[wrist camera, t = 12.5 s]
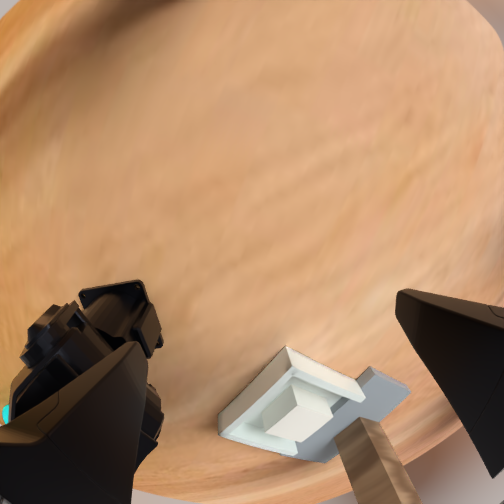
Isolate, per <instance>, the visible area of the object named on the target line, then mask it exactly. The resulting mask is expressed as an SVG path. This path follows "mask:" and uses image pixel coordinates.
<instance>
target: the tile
mask: <svg viewBox="0 0 504 504" xmlns="http://www.w3.org/2000/svg"><path fill="white" fill-rule="evenodd" d="M261 413H262V419H263V425H264V431H265V433H267V434H271V435H274V436H278V437H281V438H285V439H289V440H293V441H297V442H303V441H304V440H305V439H307V438H308V437H309V436H311V435H312V434H313V433H314V432H316V431H317V430H318V429H319V428H321V427H322V426H323V425H324V424H326V423H327V422H328V421H329V420H330V419H332V418H333V415H332V412H331V410H330V407H329V405H328V402H327V400H326V398H325V397H322V396H320V395H317V394H314V393H312V392H309V391H307V390H304V389H302V388H299V387H297V386H294V385H292V384H291V385H290V386H289V387H288V388H287V389H286V390H285V391H284V392H283V393H282V394H281V395H280V396H278V397H277V398H276V399H275V400H274V401H273V402H272V403H271V404H270V405H269V406H268V407H267V408H265V409H264V410H263V411H262V412H261Z"/></svg>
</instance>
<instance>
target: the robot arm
mask: <svg viewBox="0 0 504 504" xmlns="http://www.w3.org/2000/svg"><path fill="white" fill-rule="evenodd" d="M136 284H138V285H139V286H140V288H137V287H136ZM83 294H85V296H86V297H85V296H84V295H83ZM79 298H80V300H81V303H82V306H83V308H84V310H83V311H81V310H80V309H79V308H78V307H79V305H78V304H77V303H76V301H75V300H74V301H73V302H71V303H70V304H69V305H68V303H66V304H65V305H64V306H62V307H60V306H57V305H54V304H53V305H52V306H51V307H50V308H49V309H48V310H47V311H46V312H45V313H44V314H43V315H42V316H41V317H40V318H38V319H37V320H36V321H35V322H34V323H33V324H32V326H31V327H30V328H29V329H28V341H27V343H26V344H25V348H24V350H23V352H22V353H21V355H20V358H21V360H22V361H23V362H24V363H25V364H26V365H25V367H24V368H23V369H22V370H21V371H20V372H19V374H18V375H17V376H16V377H15V378H14V380H13V381H12V383H11V390H10V400H9V414H8V423H7V424H5V425H3V426H1V427H0V504H131V497H132V488H133V479H134V474H135V472H136V470H137V468H138V467H139V465H140V464H141V462H142V461H143V460H144V459H145V457H146V456H147V455H148V454H149V453H150V452H151V451H152V450H153V449H154V448H156V447H157V445H158V442H157V441H156V440H157V438H158V436H159V434H160V431H161V427H162V423H163V420H164V413H163V412H162V411H161V399H160V397H159V395H158V394H157V392H156V389H155V388H154V387H153V386H152V385H151V384H148V383H147V374H148V362H147V359H150V358H151V357H152V355H153V352H154V349H156V348H161V347H162V346H163V343H164V341H163V338H162V335H161V333H160V332H161V326H160V323H159V320H158V317H157V314H156V311H155V309H154V306H153V304H152V303H151V302H149V299H148V296H147V292H146V289H145V286H144V284H143V282H142V281H141V280H132V281H126V282H120V283H115V284H109V285H103V286H98V287H92V288H86V289H82V290H81V291H80V292H79ZM395 315H396V318H397V320H398V321H399V323H400V325H401V327H402V328H403V330H404V332H405V334H406V336H407V337H408V339H409V341H410V343H411V345H412V346H413V348H414V349H415V351H416V352H417V354H418V355H419V357H420V358H421V360H422V361H423V363H424V364H425V366H426V367H427V368H428V370H429V371H430V373H431V374H432V376H433V377H434V379H435V380H436V382H437V383H438V385H439V387H440V388H441V390H442V391H443V393H444V394H445V396H446V397H447V399H448V401H449V402H450V404H451V405H452V407H453V409H454V410H455V412H456V414H457V415H458V417H459V419H460V420H461V422H462V424H463V425H464V427H465V429H466V431H467V432H468V434H469V436H470V438H471V440H472V441H473V443H474V445H475V447H476V449H477V451H478V452H479V454H480V456H481V458H482V460H483V462H484V464H485V466H486V468H487V470H488V472H489V474H490V476H491V477H492V478H495V477H496V476H497V475H498V474H499V473H500V472H502V470H504V308H502V307H497V306H492V305H488V306H487V305H486V304H482V303H477V302H472V301H467V300H462V299H457V298H452V297H447V296H442V295H437V294H433V293H428V292H423V291H418V290H413V289H403V290H400V291H398V292H397V295H396V307H395ZM157 341H158V342H159V343H157ZM500 504H504V501H502V502H501V503H500Z"/></svg>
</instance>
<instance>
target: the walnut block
mask: <svg viewBox="0 0 504 504" xmlns="http://www.w3.org/2000/svg"><path fill="white" fill-rule="evenodd" d="M334 441H335V443H336V446H337V449H338V451H339V454H340V456H341V459H342V462H343V464H344V467H345V470H346V472H347V475H348V478H349V480H350V483H351V486H352V488H353V491H354V493H355V496H356V499H357V502H358V504H422V502H421V500H420V498H419V496H418V494H417V492H416V490H415V488H414V486H413V484H412V482H411V480H410V478H409V476H408V475H407V473H406V471H405V469H404V467H403V465H402V463H401V461H400V459H399V458H398V456H397V454H396V452H395V450H394V448H393V446H392V445H391V443H390V441H389V439H388V437H387V435H386V434H385V432H384V430H383V428H382V426H381V425H380V423H379V422H377V421H373V420H370V419H366V418H363V417H358V418H357V419H356V420H355V421H353V422H352V423H351V424H350V425H349V426H347V427H346V428H345V429H344V430H342V431H341V432H340V433H339V434H337V435H336V436H335V437H334Z"/></svg>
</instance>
